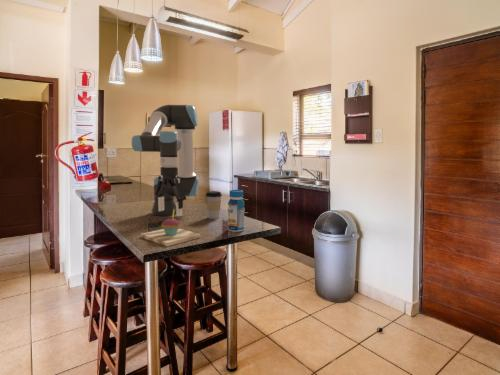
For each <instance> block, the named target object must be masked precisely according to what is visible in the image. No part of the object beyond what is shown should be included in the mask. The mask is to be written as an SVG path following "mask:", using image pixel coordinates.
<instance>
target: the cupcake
mask: <svg viewBox="0 0 500 375" xmlns="http://www.w3.org/2000/svg"><path fill="white" fill-rule="evenodd" d="M174 211H175V210H174V209H173V215H171V216H172V218H167V219H166V220H163V221H162V222H161V226H160V227H161V229H164V231H165V233H166V235H169V236H171V235H176V234H177V230H178V228H180V227H181V222H180V220H178V219H176V218H174V217H175V214H174Z"/></svg>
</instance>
